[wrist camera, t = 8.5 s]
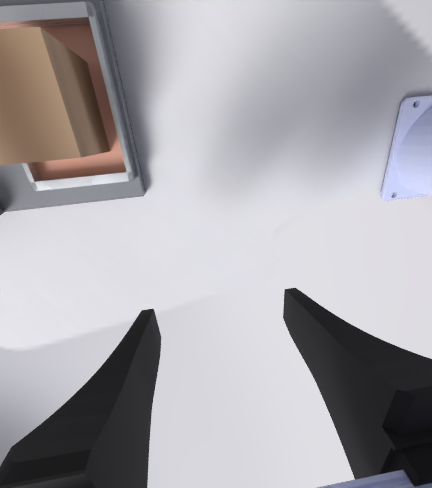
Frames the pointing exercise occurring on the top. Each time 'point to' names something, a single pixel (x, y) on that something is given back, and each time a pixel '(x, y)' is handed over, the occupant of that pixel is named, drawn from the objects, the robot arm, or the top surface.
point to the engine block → (45, 100)
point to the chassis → (110, 105)
